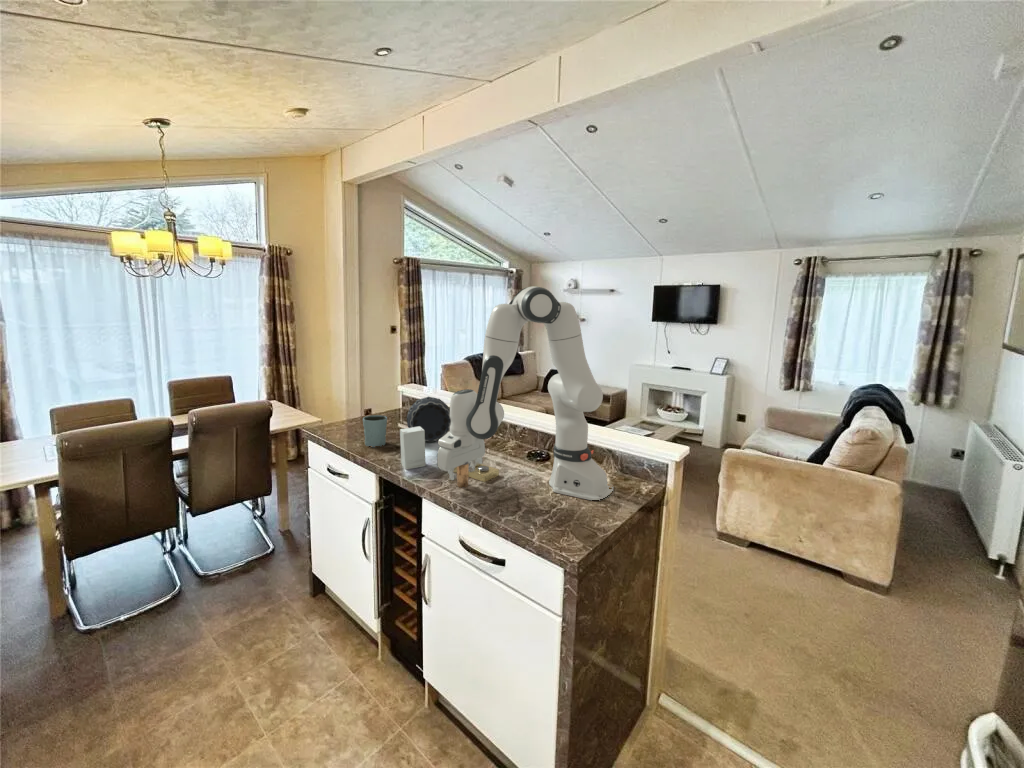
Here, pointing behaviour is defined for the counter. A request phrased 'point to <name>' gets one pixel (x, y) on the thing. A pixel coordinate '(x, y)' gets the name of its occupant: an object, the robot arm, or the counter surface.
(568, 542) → the counter surface
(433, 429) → the scalloped baking dish
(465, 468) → the pin
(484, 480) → the chain joint
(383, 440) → the teal plant pot
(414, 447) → the skincare box
